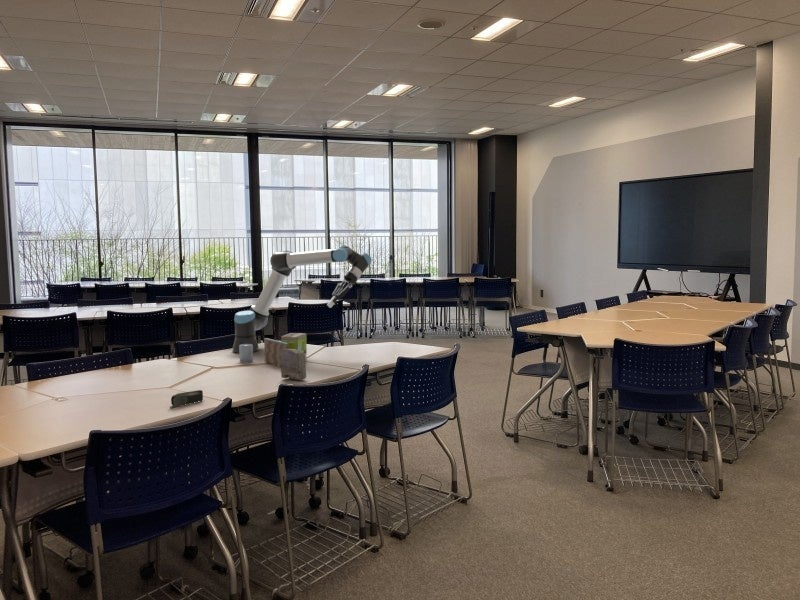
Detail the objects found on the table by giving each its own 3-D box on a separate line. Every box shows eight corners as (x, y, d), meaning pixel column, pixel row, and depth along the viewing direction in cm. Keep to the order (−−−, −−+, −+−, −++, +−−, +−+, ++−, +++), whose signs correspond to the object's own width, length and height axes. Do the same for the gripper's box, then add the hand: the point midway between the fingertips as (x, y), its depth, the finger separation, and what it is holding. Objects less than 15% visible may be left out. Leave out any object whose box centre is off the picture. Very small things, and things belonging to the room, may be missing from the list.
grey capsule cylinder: (237, 361, 341) (237, 344, 340) (249, 359, 345) (248, 343, 344) (243, 363, 335) (242, 346, 334) (255, 361, 340) (254, 345, 339)
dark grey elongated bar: (199, 388, 257) (166, 395, 245) (204, 389, 255) (171, 396, 243) (200, 400, 257) (167, 407, 245) (204, 401, 255) (171, 408, 244)
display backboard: (264, 361, 338) (263, 338, 337) (267, 361, 339) (266, 338, 338) (286, 368, 320) (285, 343, 319) (289, 368, 321) (288, 343, 320)
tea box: (298, 364, 331) (298, 336, 329) (280, 364, 332) (279, 336, 331) (307, 359, 345) (306, 332, 344) (289, 358, 347) (289, 332, 346)
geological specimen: (306, 379, 293) (306, 348, 292) (298, 382, 288) (298, 350, 286) (288, 377, 298) (287, 346, 297) (280, 380, 293) (279, 348, 291)
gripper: (363, 280, 360) (339, 311, 351) (350, 279, 370) (326, 309, 361) (355, 271, 356) (331, 302, 347) (342, 270, 366) (318, 301, 357)
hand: (328, 306), depth 354 cm, fingers closed
